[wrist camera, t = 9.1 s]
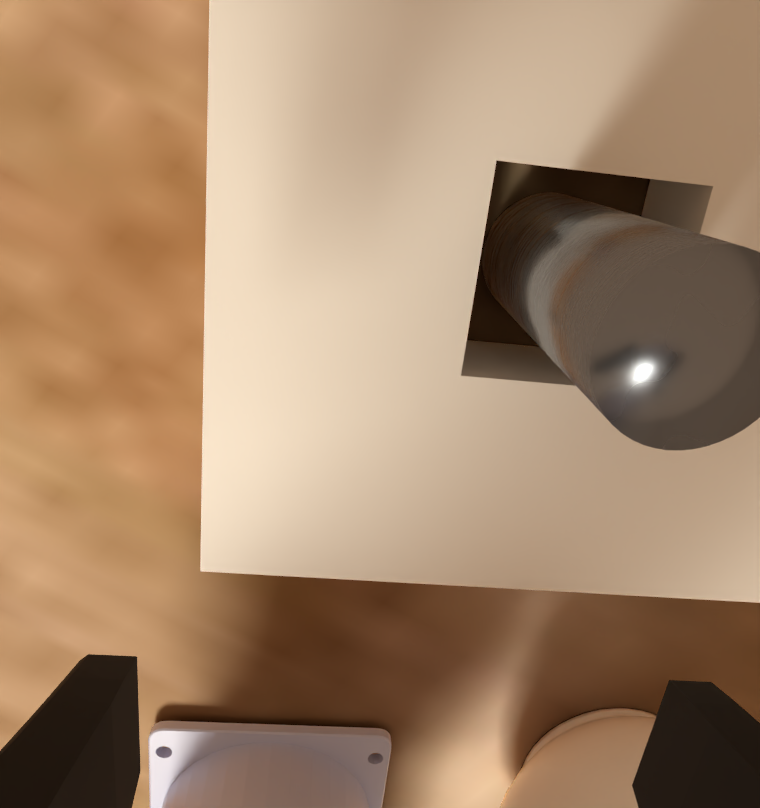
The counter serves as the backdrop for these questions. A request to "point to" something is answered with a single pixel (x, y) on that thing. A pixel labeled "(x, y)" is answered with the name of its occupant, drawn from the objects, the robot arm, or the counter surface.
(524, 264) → the tall pin
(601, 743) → the lidded jar
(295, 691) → the counter surface
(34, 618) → the counter surface
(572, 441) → the hole block
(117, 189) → the counter surface
